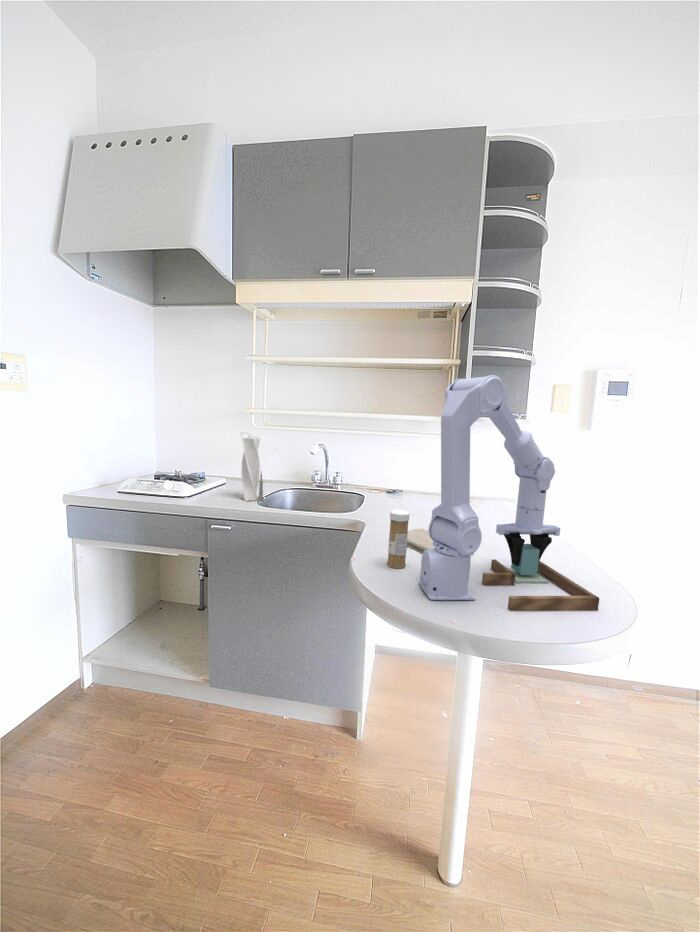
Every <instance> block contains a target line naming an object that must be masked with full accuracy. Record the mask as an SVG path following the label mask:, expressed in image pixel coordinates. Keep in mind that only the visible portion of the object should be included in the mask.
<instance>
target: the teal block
mask: <svg viewBox="0 0 700 932" xmlns="http://www.w3.org/2000/svg"><path fill="white" fill-rule="evenodd" d="M539 552H540V549H538V548H536V547H534V546H533V545H531V543H524V544H523V547H522V551H521V557H520V563H519V566H515V565H514V564H513V563H512V562H511V564H510V565H511V566H510V568H512V569H513V570H515V571H516V572H517V573H519V574H520V575H537V574H538V572H537V569H538V560H539Z"/></svg>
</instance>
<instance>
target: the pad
mask: <svg viewBox="0 0 700 932" xmlns="http://www.w3.org/2000/svg"><path fill="white" fill-rule="evenodd" d="M506 568H507V569H509V570H510V571H511V572H513V573H514V574H515V583H516V584H549V582H550V581H549V580H548V579H546V578H545V577H543V576H542V575H541V574H539V573H537V575H520V574H519V573H517V572H516V571H515V570H513V569H512V568H511V567H506Z"/></svg>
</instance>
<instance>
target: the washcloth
mask: <svg viewBox="0 0 700 932" xmlns="http://www.w3.org/2000/svg"><path fill="white" fill-rule="evenodd" d="M407 547H408V548H410V549H412V550H415V551H417V552H419V553H420V554H421V555H422V554H423V551H424V550H430V549H433V548H435V547H434V546H433V540H432V539H431V538H430V536H429V530H427V529H425V528H415V529H411V530H408V536H407Z"/></svg>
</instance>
